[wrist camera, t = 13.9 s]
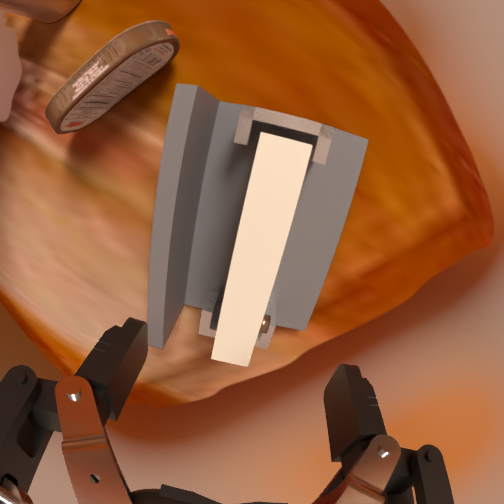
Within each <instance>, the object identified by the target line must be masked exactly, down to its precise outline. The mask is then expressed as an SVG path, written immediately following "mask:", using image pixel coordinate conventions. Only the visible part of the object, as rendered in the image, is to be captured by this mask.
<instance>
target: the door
mask: <svg viewBox="0 0 504 504" xmlns="http://www.w3.org/2000/svg"><path fill="white" fill-rule="evenodd" d="M312 146H313V145H310V144H306V143H303V142H299V141H295V140H292V139H288V138H284V137H280V136H276V135H272V134H267V133H263V132H261V134H260V138H259V142H258V146H257V150H256V154H255V159H254V163H253V167H252V171H251V176H250V180H249V184H248V189H247V193H246V197H245V202H244V206H243V211H242V215H241V219H240V224H239V228H238V233H237V237H236V242H235V246H234V251H233V256H232V260H231V265H230V269H229V274H228V279H227V283H226V288H225V293H224V298H223V302H222V307H221V312H220V317H219V322H218V327H217V331H216V336H215V341H214V346H213V351H212V356H211V359H214V360H218V361H223V362H227V363H231V364H236V365H241V366H245V367H248V364H249V361H250V358H251V355H252V352H253V349H254V346H255V342H256V339H257V336H258V333H259V332H261V333H266V334H267V332H268V329H269V325H270V320H271V315H267V314H265V311H266V308H267V304H268V301H269V298H270V295H271V291H272V288H273V285H274V282H275V278H276V275H277V272H278V268H279V265H280V261H281V258H282V255H283V251H284V248H285V244H286V241H287V237H288V234H289V231H290V227H291V223H292V220H293V216H294V213H295V209H296V206H297V202H298V198H299V195H300V191H301V188H302V184H303V180H304V176H305V173H306V169H307V165H308V161H309V158H310V154H311V150H312Z"/></svg>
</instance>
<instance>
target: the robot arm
mask: <svg viewBox="0 0 504 504" xmlns="http://www.w3.org/2000/svg"><path fill="white" fill-rule="evenodd" d="M80 1H81V0H0V10H2V11H6V12H10V13H14V14H18V15H22V16H26V17H29V18H32V19H36V20H39V21H42V22H45V23H53V22H56V21H58V20H60V19H61V18H63V17H64V16H66V15H67V14H68V13H69V12H71V11H72V10H73V9H74V8H75V7H76V6H77V4H78V3H79V2H80ZM147 352H148V325H147V322H144V321H140V320H137V319H134V318H131V317H129V318H128V319H127V321H126V322H125V323H124V325H123V326H122V327H119V326H116V325H115V326H113V327H112V328H110V329H108V330H107V331H105V333H104V334H103V335H102V337H101V338H100V339H99V342H97V344H96V345H95V346H94V349H92V351H91V352H90V353H89V355H88V356H87V358H86V359H85V361H84V362H83V364H82V365H81V366H80V368H79V369H78V371H77V372H76V374H75V375H73V376H66V377H64V378H62V379H61V380H60V381H51V380H46V379H41V378H37V377H36V374H35V373H34V371H33V370H32V369H31V368H29V367H27V366H24V365H19V366H15V367H13V368H11V369H10V370H9V371H8V372H7V374H6V375H5V377H4V378H3V379H2V381H1V382H0V504H33V501H32V499H31V498H30V497H29V495H28V494H27V493H28V490H29V487H30V485H31V482H32V480H33V477H34V475H35V472H36V470H37V467H38V465H39V463H40V460H41V458H42V456H43V453H44V451H45V449H46V447H47V445H48V442H49V440H50V438H51V436H52V434H53V432H54V431H58V432H62V434H63V442H62V451H63V455H64V459H65V463H66V466H67V470H68V473H69V477H70V480H71V483H72V486H73V489H74V492H75V495H76V498H77V500H78V503H79V504H221V503H218V502H216V501H213V500H211V499H208V498H206V497H204V496H201V495H199V494H196V493H194V492H191V491H187V490H183V489H179V488H175V487H171V486H167V485H164V484H162V485H161V489H142V490H137V491H133V492H131V491H130V489H129V487H128V485H127V483H126V480H125V478H124V476H123V474H122V472H121V470H120V467H119V465H118V463H117V460H116V457H115V455H114V452H113V449H112V447H111V444H110V441H109V438H108V435H107V432H106V429H105V424H106V422H107V420H108V418H110V419H112V420H115V421H117V419H118V417H119V415H120V413H121V410H122V408H123V406H124V404H125V402H126V400H127V398H128V396H129V394H130V391H131V389H132V387H133V385H134V383H135V381H136V379H137V377H138V375H139V373H140V371H141V369H142V367H143V365H144V363H145V360H146V357H147ZM324 405H325V412H326V419H327V427H328V435H329V443H330V451H331V460H332V462H341V463H342V467H341V468H340V469H339V470H338V472H337V473H336V475H335V476H334V477H333V479H332V480H331V481H330V483H329V484H328V485H327V487H326V488H325V489H324V490H323V492H322V493H321V494H320V495H319V497H318V498H317V499H316V500H315V501H314V502H313V503H312V504H414V498H413V492H412V487H414V489H415V494H416V501H417V504H454V501H453V496H452V492H451V487H450V483H449V479H448V475H447V471H446V467H445V464H444V460H443V456H442V454H441V452H440V450H439V449H438V448H437V447H435V446H433V445H424V446H422V447H421V448H420V449H418V450H417V451H415V450H410V449H406V448H401V447H400V445H399V443H398V442H397V441H396V440H395V439H394V438H393V437H391V436H389V435H387V433H386V429H385V426H384V422H383V419H382V415H381V412H380V409H379V406H378V402H377V399H376V395H375V392H374V389H373V387H372V385H371V384H370V383H369V381H368V380H367V379H366V378H362V376H361V372H360V369H359V367H358V366H357V365H347V364H340V365H339V366H338V368H337V369H336V371H335V373H334V374H333V376H332V378H331V379H330V381H329V383H328V384H327V386H326V388H325V391H324ZM242 504H288V503H268V502H253V503H242Z"/></svg>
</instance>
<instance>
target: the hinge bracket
mask: <svg viewBox="0 0 504 504" xmlns="http://www.w3.org/2000/svg"><path fill="white" fill-rule="evenodd" d="M261 132H263V133H267V134H272V135H276V136H280V137H284V138H288V139H292V140H295V141H299V142H303V143H306V144H310V145H313V146H312V150H311V154H310V158H309V161H308V165H307V169H306V173H305V176H304V180H303V184H302V188H301V191H300V195H299V198H298V202H297V206H296V209H295V213H294V216H293V220H292V223H291V227H290V231H289V234H288V237H287V241H286V244H285V248H284V251H283V255H282V258H281V261H280V265H279V268H278V272H277V275H276V278H275V282H274V285H273V288H272V291H271V295H270V298H269V301H268V304H267V308H266V311H265V314H267V315H271V320H270V325H269V329H268V332H267V334H266V333H261V332H259V333H258V336H257V339H256V342H255V346H254V347H258V348H263V349H268V347H269V344H270V341H271V338H272V335H273V332H274V330H275V325H276V326H281V327H287V328H292V329H297V330H302V331H305V329H306V326H307V324H308V322H309V319H310V317H311V314H312V312H313V309H314V307H315V304H316V302H317V299H318V296H319V294H320V291H321V289H322V286H323V283H324V281H325V278H326V275H327V273H328V270H329V267H330V264H331V262H332V259H333V256H334V253H335V250H336V247H337V244H338V241H339V239H340V236H341V233H342V230H343V226H344V223H345V220H346V217H347V214H348V211H349V208H350V204H351V201H352V198H353V195H354V191H355V188H356V184H357V181H358V177H359V174H360V170H361V167H362V163H363V159H364V156H365V152H366V148H367V144H368V139H365V138H362V137H360V136H357V135H354V134H351V133H348V132H345V131H342V130H339V129H336V128H334V127H331V126H328V125H325V124H321V123H318V122H314V121H311V120H307V119H304V118H300V117H296V116H292V115H288V114H284V113H280V112H276V111H272V110H267V109H262V108H258V107H253V106H248V105H239V104H234V103H228V102H222V101H219V100H217V99H216V98H215V97H213V96H212V95H211V94H209V93H208V92H206V91H205V90H204V89H202V88H201V87H199V86H198V85H189V84H178V83H177V84H176V88H175V92H174V97H173V101H172V105H171V110H170V115H169V120H168V125H167V130H166V135H165V140H164V146H163V152H162V158H161V164H160V171H159V177H158V184H157V192H156V200H155V208H154V217H153V227H152V238H151V250H150V265H149V284H148V345H149V346H152V347H155V348H159V349H162V350H163V347H164V345H165V343H166V341H167V339H168V337H169V335H170V333H171V331H172V329H173V327H174V325H175V322H176V320H177V318H178V316H179V314H180V312H181V310H182V308H183V306H184V304H186V305H190V306H193V307H197V308H201V309H202V313H201V319H200V326H199V332H198V334H201V335H205V336H209V337H213V338H215V336H216V331H217V327H218V322H219V317H220V312H221V307H222V302H223V298H224V293H225V288H226V283H227V279H228V274H229V269H230V265H231V260H232V256H233V251H234V246H235V242H236V237H237V233H238V228H239V224H240V219H241V215H242V211H243V206H244V202H245V197H246V193H247V189H248V184H249V180H250V176H251V171H252V167H253V163H254V159H255V154H256V150H257V146H258V142H259V138H260V134H261Z"/></svg>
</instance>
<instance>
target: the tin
mask: <svg viewBox="0 0 504 504" xmlns="http://www.w3.org/2000/svg"><path fill="white" fill-rule="evenodd" d="M179 48H180V44H179V40H178V38H177V37H176V35H175V34H174V33H173V31H172V30H171V26H170V25H169V24H168V23H167V22H165V21H159V20H154V21H147V22H143V23H140V24H137V25H135V26H133V27H130V28H128V29H126V30H125V31H123V32H121V33H120V34H118V35H117V36H115V37H114V38H113V39H111V40H110V41H109V42H108V43H106V44H105V45H104V46H103V47H102V48H101V49H99V50H98V51H97V52H96V53H95V54H94V55H93V56H92V57H90V58H89V59H88V60H87V61H86V62H85V63H84V64H83V65H82V66H81V67H80V68H79V69H78V70H77V71H76V72H75V73H74V74H73V75H72V76H71V77H70V78H69V79H68V80H67V81H66V82H65V83H64V84H63V85H62V86H61V87H60V88H59V89H58V90H57V91H56V92H55V94H54V95H53V96H52V97H51V99H50V100H49V102H48V104H47V106H46V110H45V115H46V117H47V119H49V122H50V123H51V125H52V127H53V129H54V131H55V132H56V133H57V134H65V133H69V132H74V131H78V130H81V129H83V128H84V127H86V126H88V125H90V124H91V123H93V122H94V121H96V120H97V119H99V118H100V117H102V116H103V115H104V114H105V113H107V112H108V111H109V110H110V109H111V108H112V107H114V106H115V105H116V104H117V103H118V102H120V101H121V100H122V99H123V98H125V97H126V96H127V95H128V94H130V93H131V92H132V91H133V90H135V89H136V88H137V87H139V86H140V85H141V84H143V83H144V82H145V81H147V80H148V79H149V78H151V77H152V76H153V75H155V74H156V73H158V72H159V71H160V70H162V69H163V68H164V67H165V66H166V65H168V64H169V63H170V62H171V61H172V60H173V58H174V57H175V56H176V54H177V53H178V51H179Z"/></svg>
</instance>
